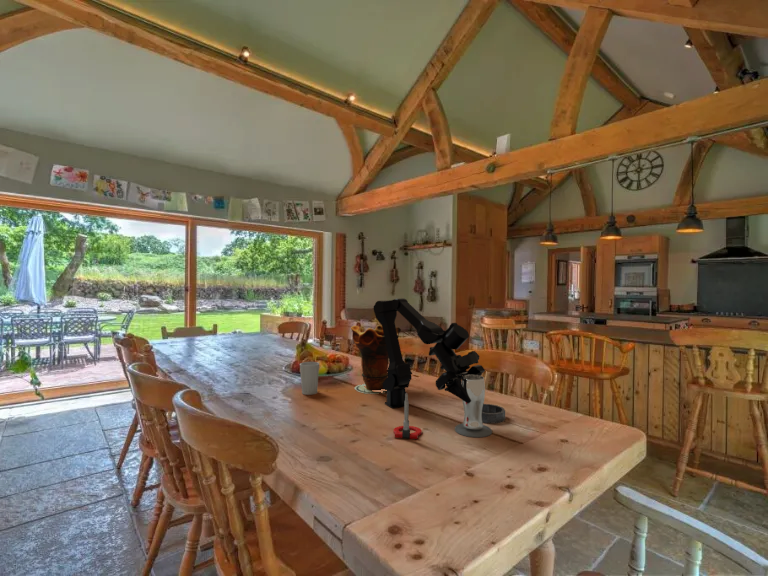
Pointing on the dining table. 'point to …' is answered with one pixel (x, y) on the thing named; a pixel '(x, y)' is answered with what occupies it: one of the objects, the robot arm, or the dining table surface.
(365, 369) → the decorative vase
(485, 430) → the coaster
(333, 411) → the dining table surface
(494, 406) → the ring holder
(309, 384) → the cup
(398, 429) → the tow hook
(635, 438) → the dining table surface
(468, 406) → the beer glass
